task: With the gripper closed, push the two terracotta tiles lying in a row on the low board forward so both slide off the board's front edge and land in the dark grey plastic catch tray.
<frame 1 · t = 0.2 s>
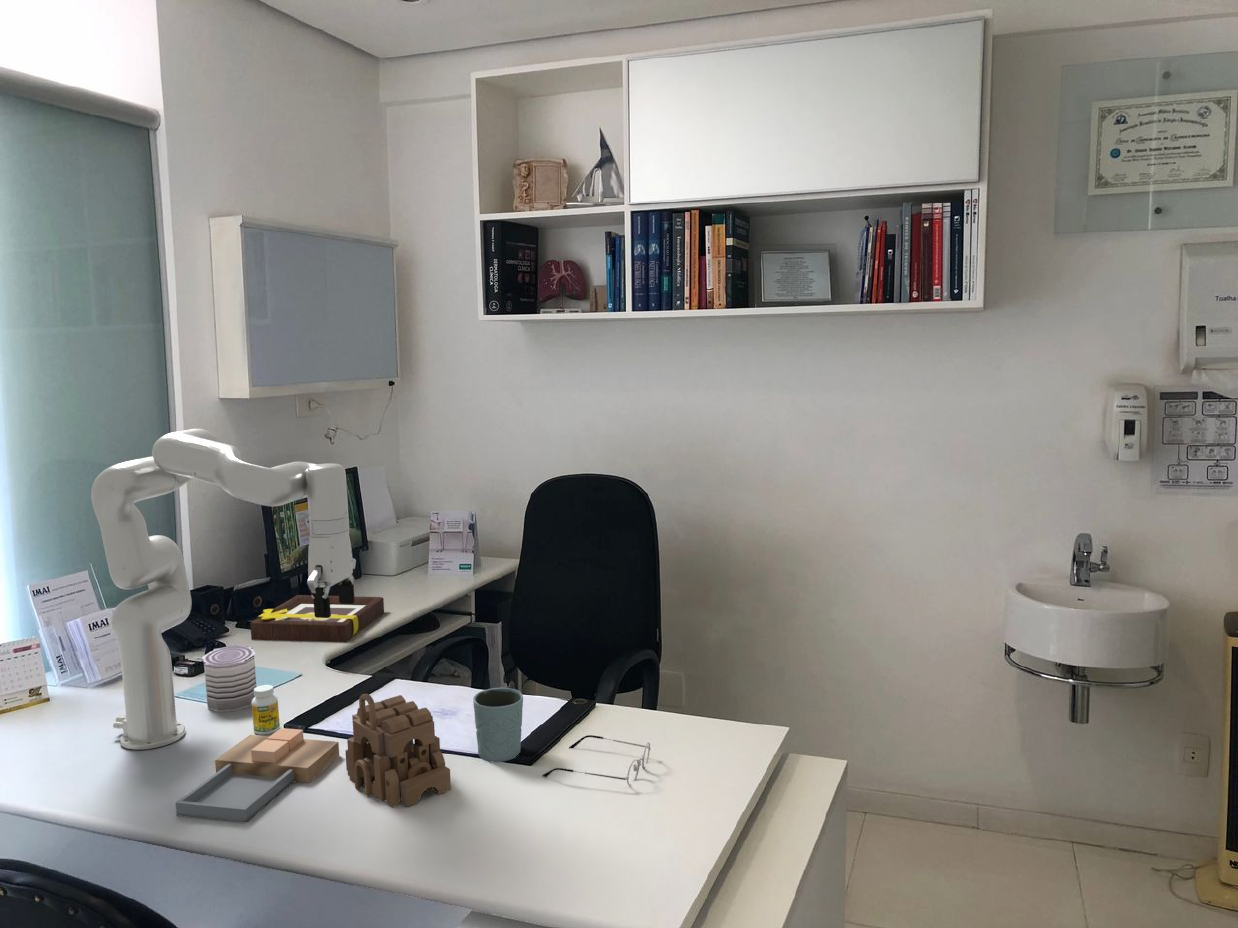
hand: (335, 610, 196), 30 cm above the table, fingers open, 9 cm apart
green cup: (500, 753, 199), on the table
eyeglasses: (599, 770, 192), on the table
can: (232, 703, 229), on the table
picture frame: (319, 627, 287), on the table
board: (278, 764, 196), on the table
wooden puzzle: (396, 781, 188), on the table
catch tray: (237, 797, 182), on the table
supplement bottle: (266, 731, 213), on the table
tile rear: (285, 744, 198), point 3 cm above the table, touching board
tile front: (270, 756, 193), point 3 cm above the table, touching board
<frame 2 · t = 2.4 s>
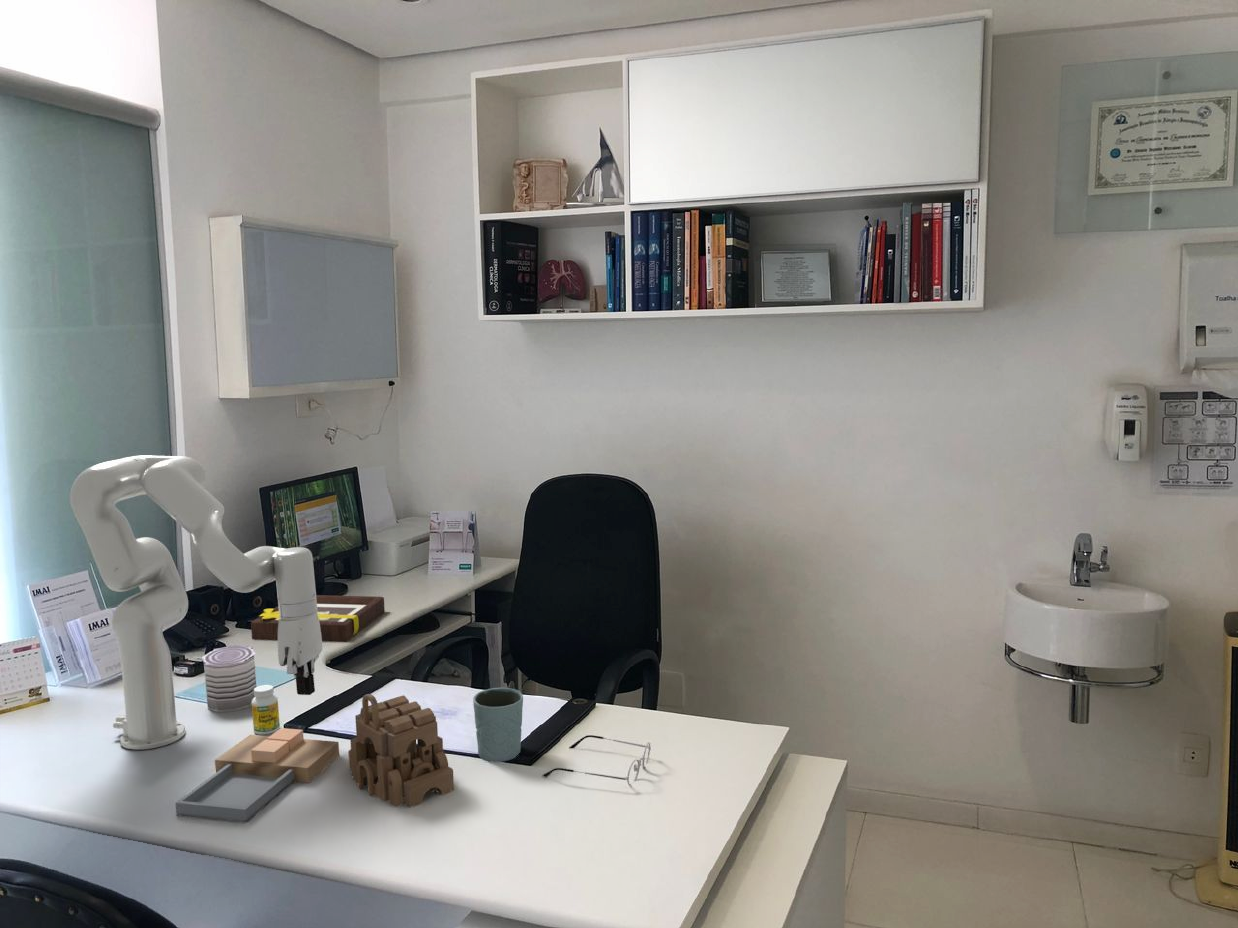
hand: (306, 693, 204), 11 cm above the table, fingers closed
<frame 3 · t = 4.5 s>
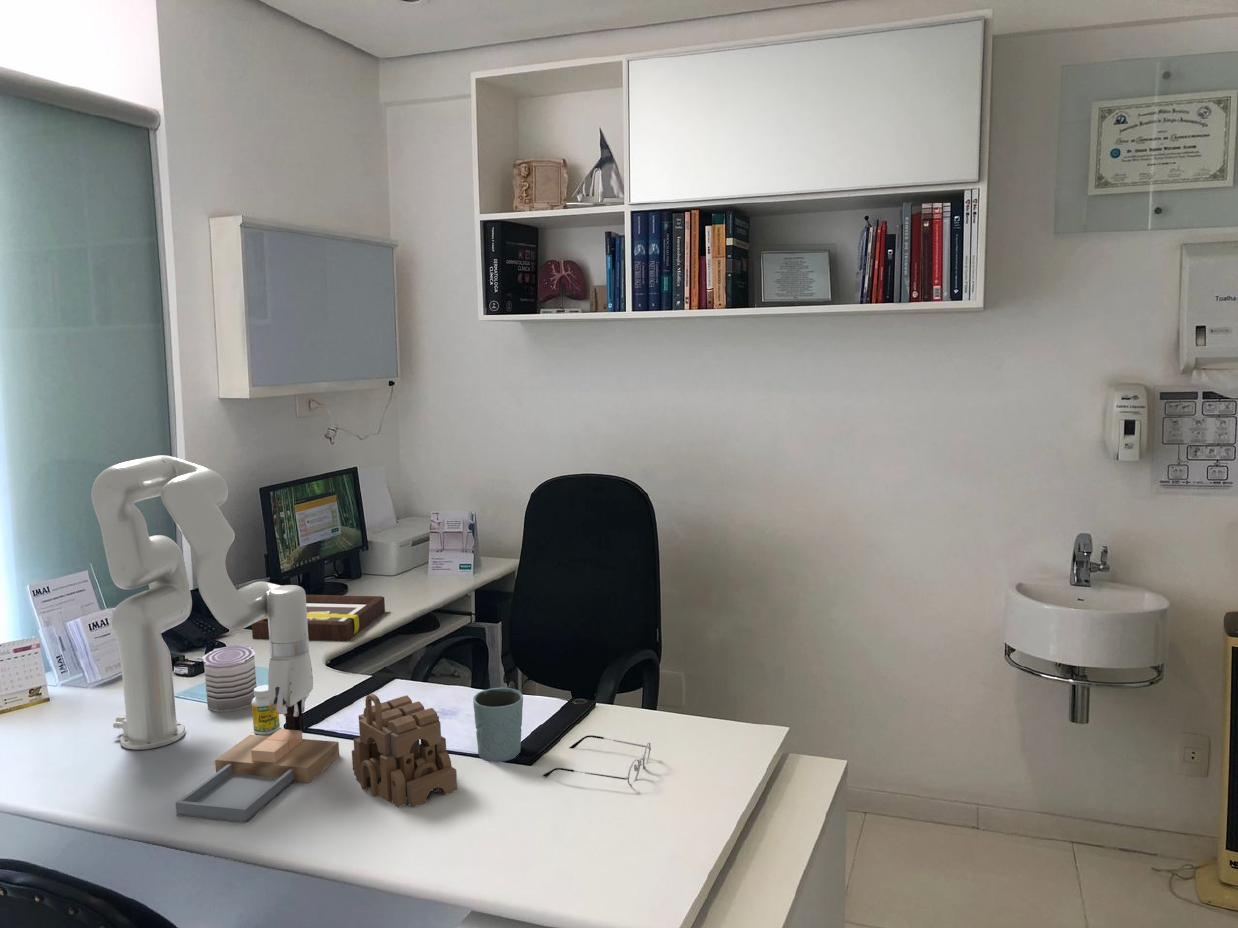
hand: (295, 732, 202), 4 cm above the table, fingers closed
tile rear: (284, 745, 198), point 3 cm above the table, touching board, gripper
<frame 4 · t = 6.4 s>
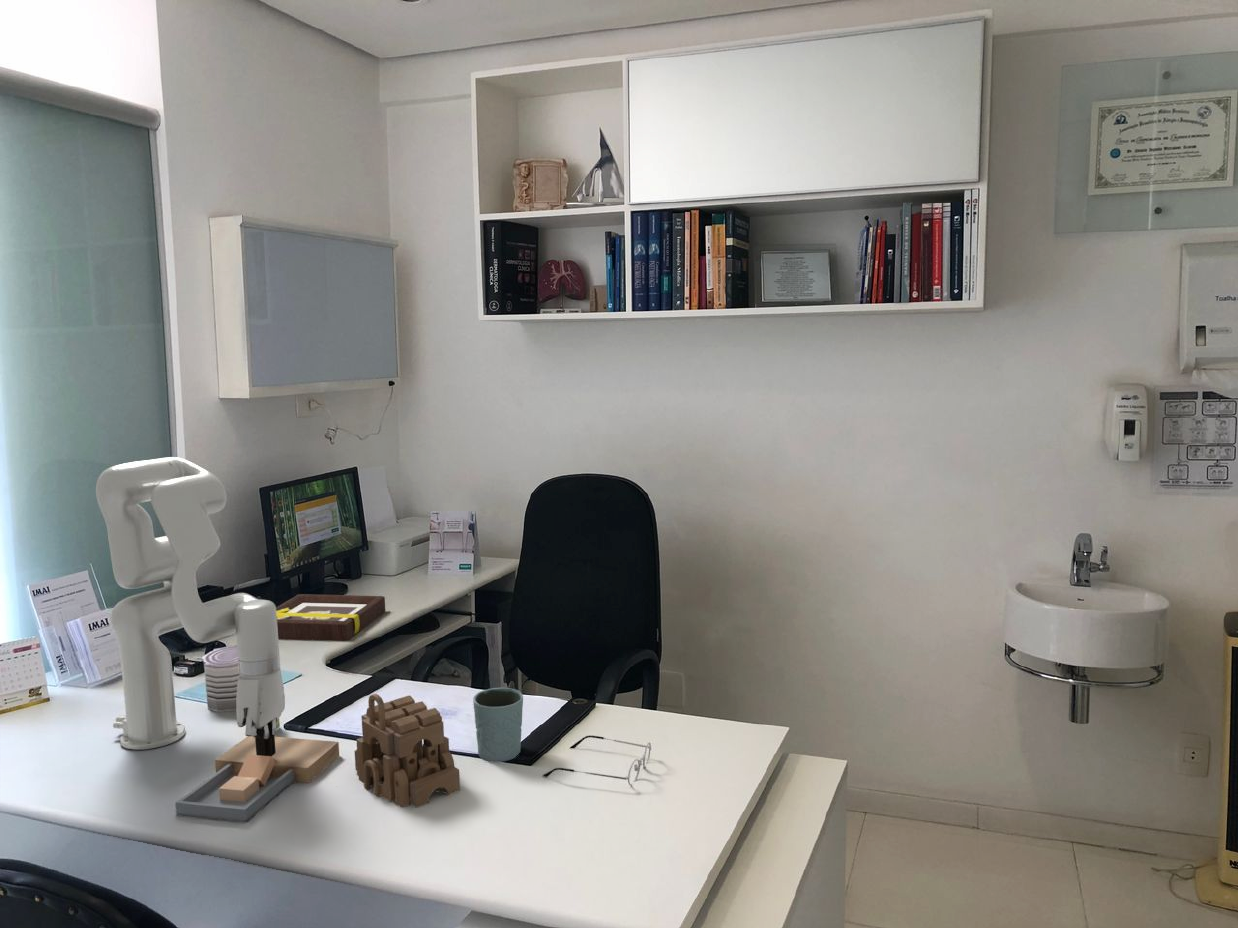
hand: (266, 754, 191), 4 cm above the table, fingers closed
tile rear: (258, 773, 188), point 2 cm above the table, tilted 36°, touching catch tray
tile front: (238, 783, 182), point 3 cm above the table, tilted 180°, touching catch tray
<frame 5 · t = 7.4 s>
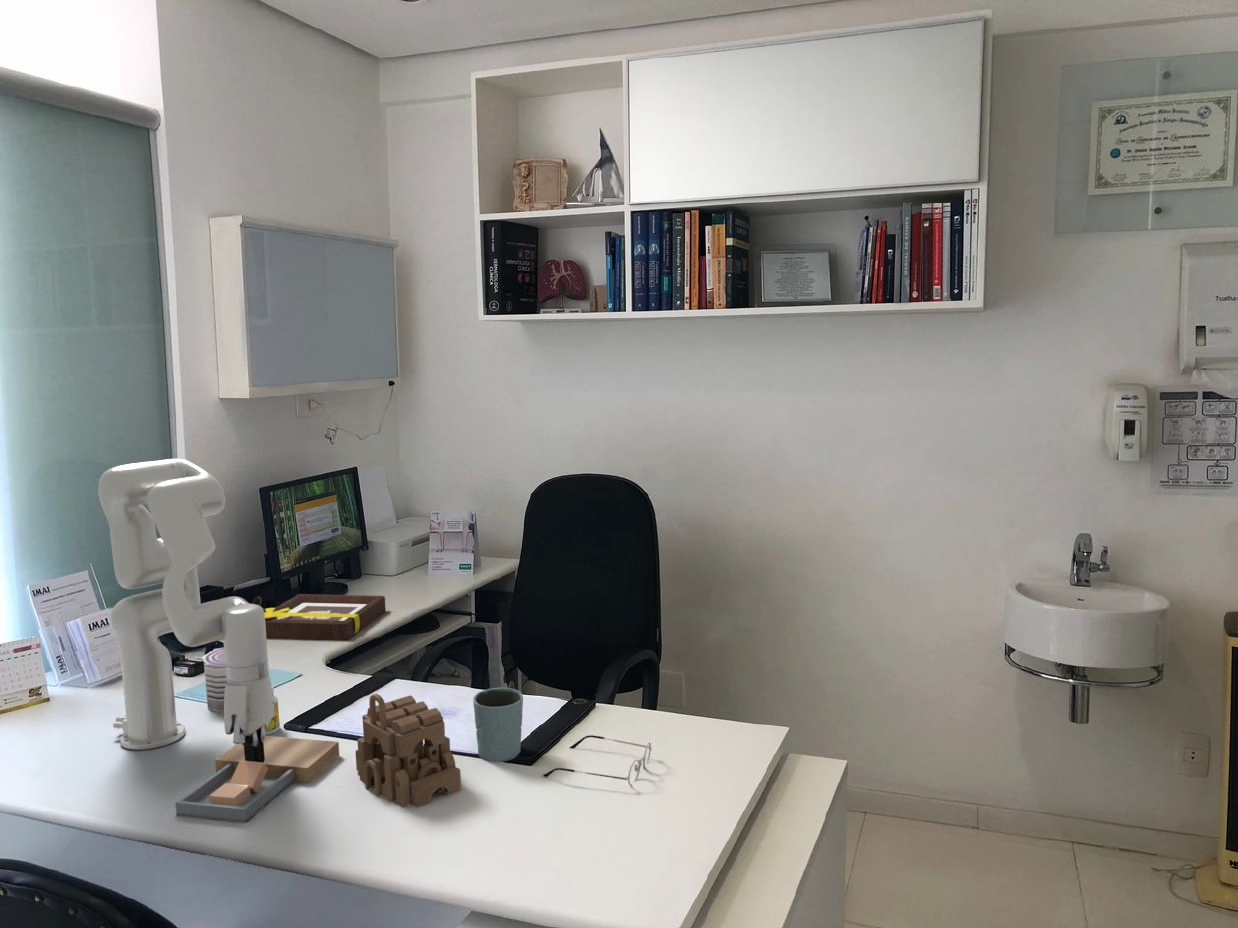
hand: (255, 762, 187), 4 cm above the table, fingers closed
tile rear: (251, 779, 185), point 2 cm above the table, tilted 39°, touching catch tray, gripper, tile front
tile front: (229, 790, 179), point 3 cm above the table, tilted 180°, touching catch tray, tile rear
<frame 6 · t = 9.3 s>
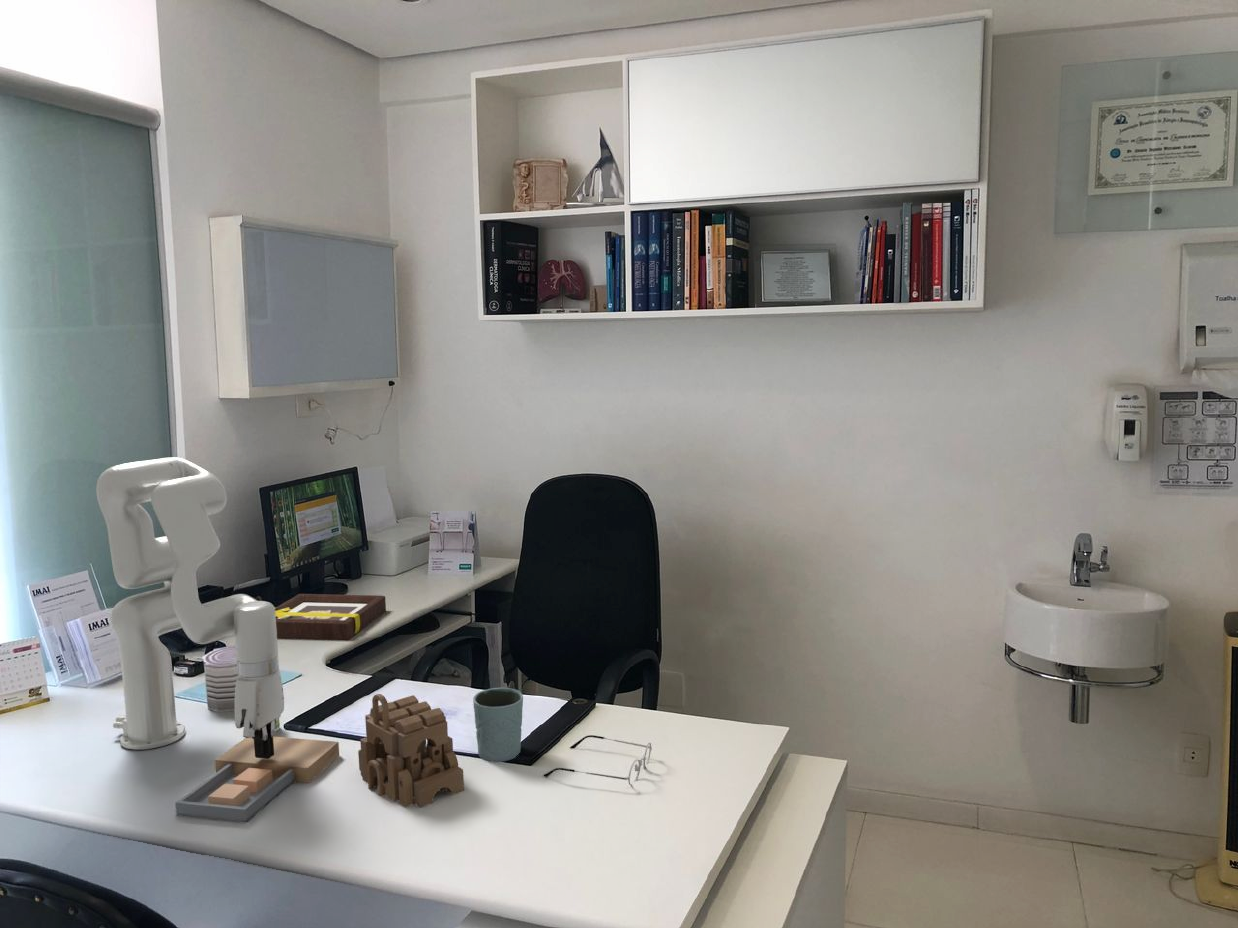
hand: (264, 756, 191), 4 cm above the table, fingers closed
tile rear: (253, 785, 186), resting on catch tray
tile front: (228, 790, 179), point 3 cm above the table, tilted 180°, touching catch tray
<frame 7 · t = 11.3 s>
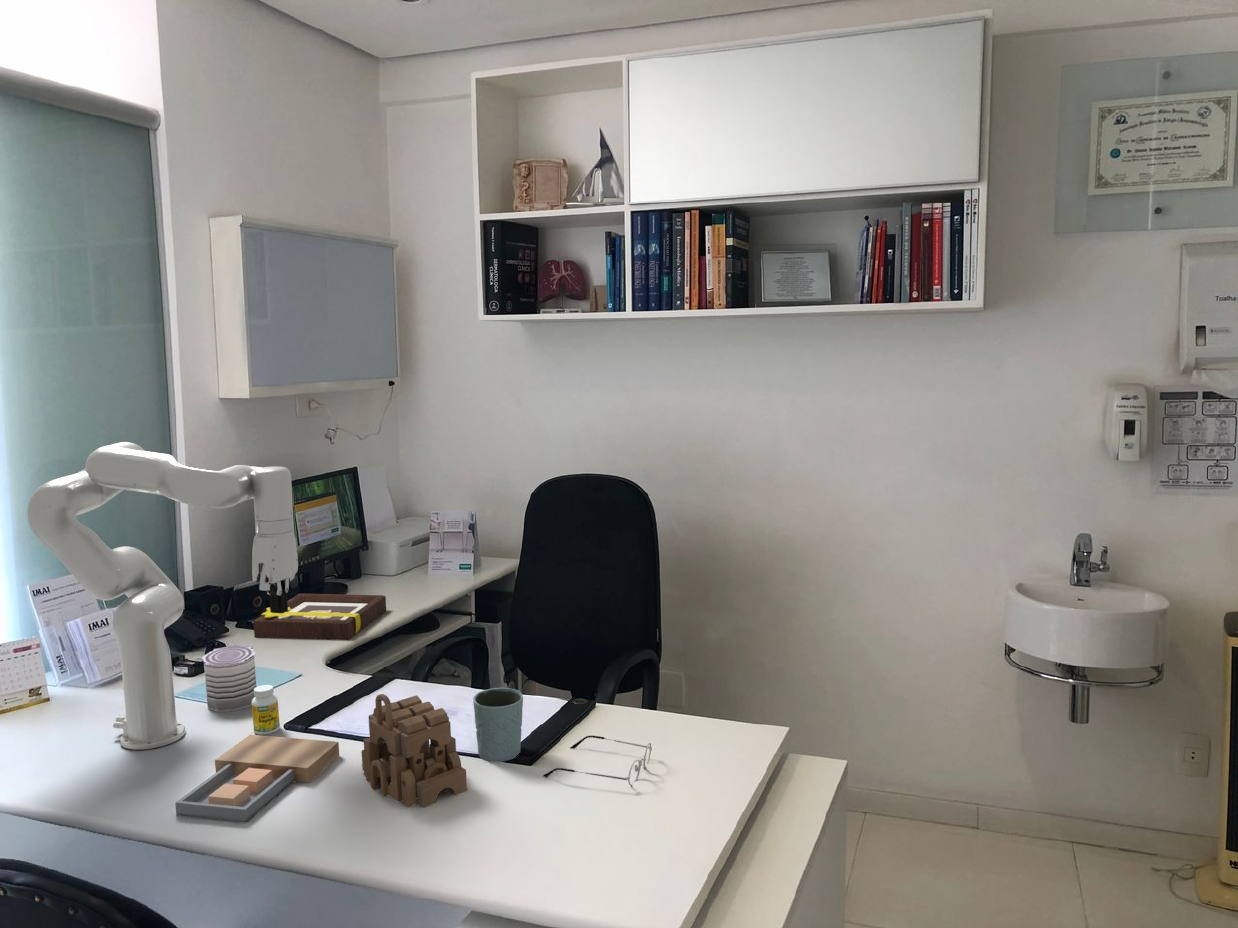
hand: (279, 611, 206), 27 cm above the table, fingers closed
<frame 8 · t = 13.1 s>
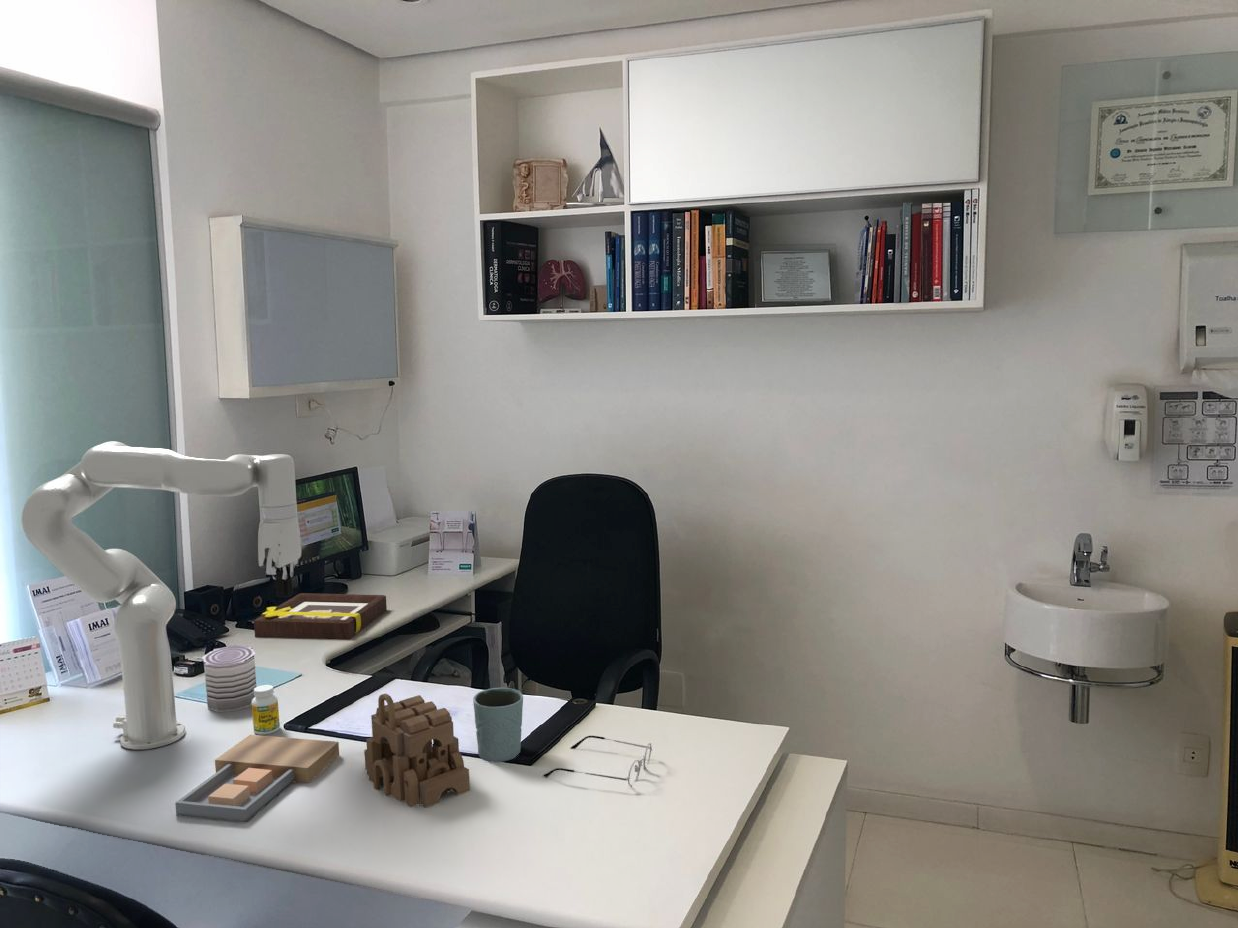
hand: (284, 595, 212), 29 cm above the table, fingers closed
at the end: tile front inside the target area (1.9 cm from its centre), point 2.7 cm above the table; tile rear inside the target area (4.9 cm from its centre), point 0.5 cm above the table; tile rear tilted 0° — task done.
